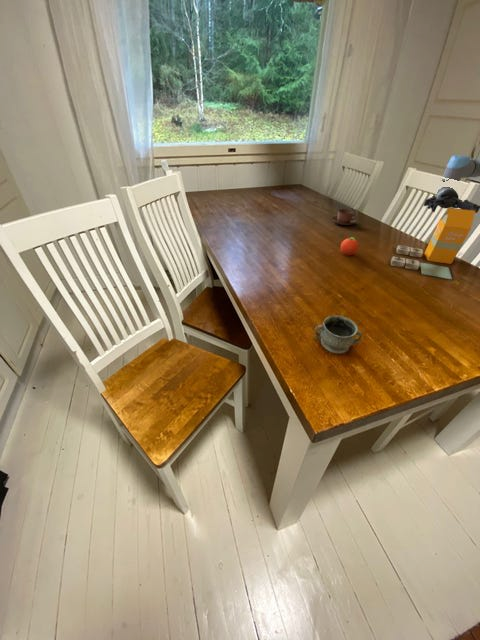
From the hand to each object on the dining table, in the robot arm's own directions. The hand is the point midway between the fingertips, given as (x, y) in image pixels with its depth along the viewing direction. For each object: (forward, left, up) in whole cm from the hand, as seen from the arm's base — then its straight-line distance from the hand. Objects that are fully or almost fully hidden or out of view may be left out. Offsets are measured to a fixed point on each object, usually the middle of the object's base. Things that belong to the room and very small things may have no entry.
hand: (453, 211), depth 111 cm
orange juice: (0, +10, -17) cm, 19 cm away
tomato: (+35, +22, -17) cm, 44 cm away
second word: (+7, +23, -17) cm, 29 cm away
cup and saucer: (+42, -16, -17) cm, 48 cm away
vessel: (+31, +81, -17) cm, 88 cm away
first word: (+11, +10, -17) cm, 22 cm away
